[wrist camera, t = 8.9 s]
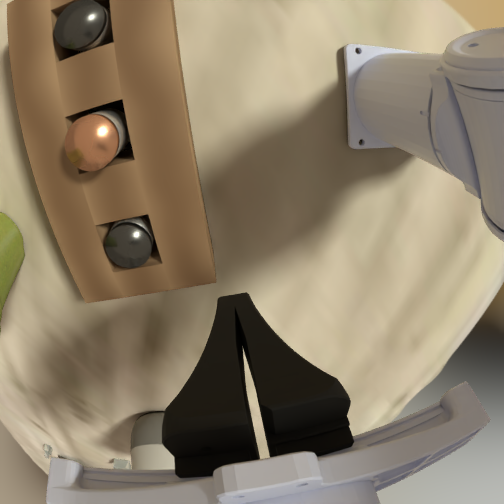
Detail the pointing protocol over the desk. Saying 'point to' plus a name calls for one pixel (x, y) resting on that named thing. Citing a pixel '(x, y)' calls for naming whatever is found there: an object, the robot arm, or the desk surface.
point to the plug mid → (96, 139)
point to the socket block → (125, 162)
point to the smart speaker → (150, 444)
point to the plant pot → (9, 256)
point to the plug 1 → (84, 26)
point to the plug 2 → (130, 241)
